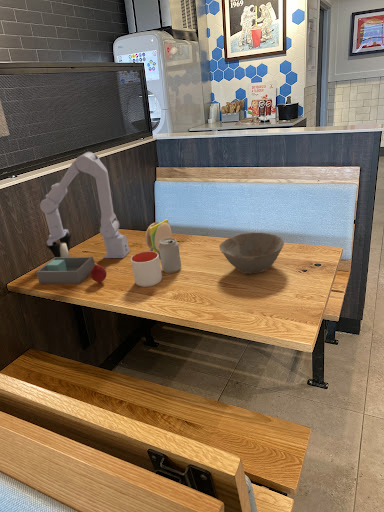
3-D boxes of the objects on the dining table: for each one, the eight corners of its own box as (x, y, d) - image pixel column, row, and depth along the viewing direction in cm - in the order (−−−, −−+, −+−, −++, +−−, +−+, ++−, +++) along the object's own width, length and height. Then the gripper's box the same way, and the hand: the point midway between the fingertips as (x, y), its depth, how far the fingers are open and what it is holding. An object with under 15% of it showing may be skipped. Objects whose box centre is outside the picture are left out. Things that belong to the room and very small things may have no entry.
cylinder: (72, 256, 176) (68, 242, 173) (66, 261, 171) (62, 246, 168) (62, 256, 177) (58, 242, 174) (56, 261, 172) (52, 246, 170)
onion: (111, 279, 149) (106, 260, 146) (103, 286, 144) (98, 267, 141) (97, 278, 151) (93, 259, 148) (89, 285, 146) (84, 266, 143)
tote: (95, 267, 161) (93, 256, 159) (79, 283, 149) (76, 271, 147) (57, 268, 165) (54, 257, 163) (39, 283, 153) (35, 271, 151)
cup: (141, 291, 138) (136, 265, 134) (131, 280, 146) (126, 256, 142) (166, 282, 141) (162, 257, 137) (156, 272, 150) (152, 248, 146)
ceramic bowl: (296, 263, 143) (296, 237, 139) (261, 289, 129) (259, 262, 125) (246, 252, 158) (245, 228, 154) (209, 274, 143) (207, 249, 139)
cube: (67, 270, 159) (64, 259, 157) (60, 276, 155) (57, 265, 153) (56, 270, 161) (53, 259, 159) (49, 276, 156) (46, 265, 154)
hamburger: (160, 243, 178) (156, 218, 173) (175, 245, 174) (172, 219, 169) (144, 253, 169) (139, 227, 164) (159, 256, 165) (154, 229, 160)
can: (179, 273, 147) (174, 243, 142) (160, 273, 148) (155, 244, 144) (183, 265, 153) (179, 236, 149) (165, 265, 155) (160, 237, 150)
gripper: (55, 220, 175) (63, 248, 180) (37, 231, 162) (45, 261, 168) (69, 219, 173) (76, 247, 179) (52, 231, 160) (60, 261, 166)
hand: (62, 254), depth 173 cm, fingers open, 7 cm apart
